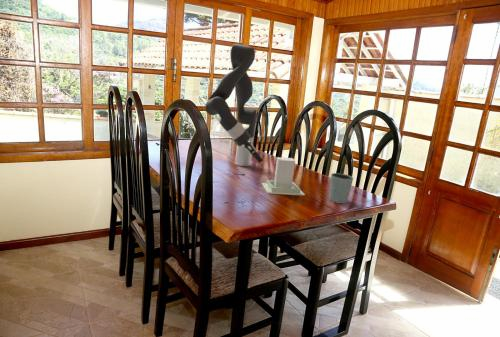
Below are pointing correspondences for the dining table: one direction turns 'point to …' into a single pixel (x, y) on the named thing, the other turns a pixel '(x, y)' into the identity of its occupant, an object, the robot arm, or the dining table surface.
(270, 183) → the tray
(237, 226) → the dining table surface
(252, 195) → the dining table surface
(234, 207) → the dining table surface
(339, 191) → the grey plant pot
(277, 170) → the skincare box
